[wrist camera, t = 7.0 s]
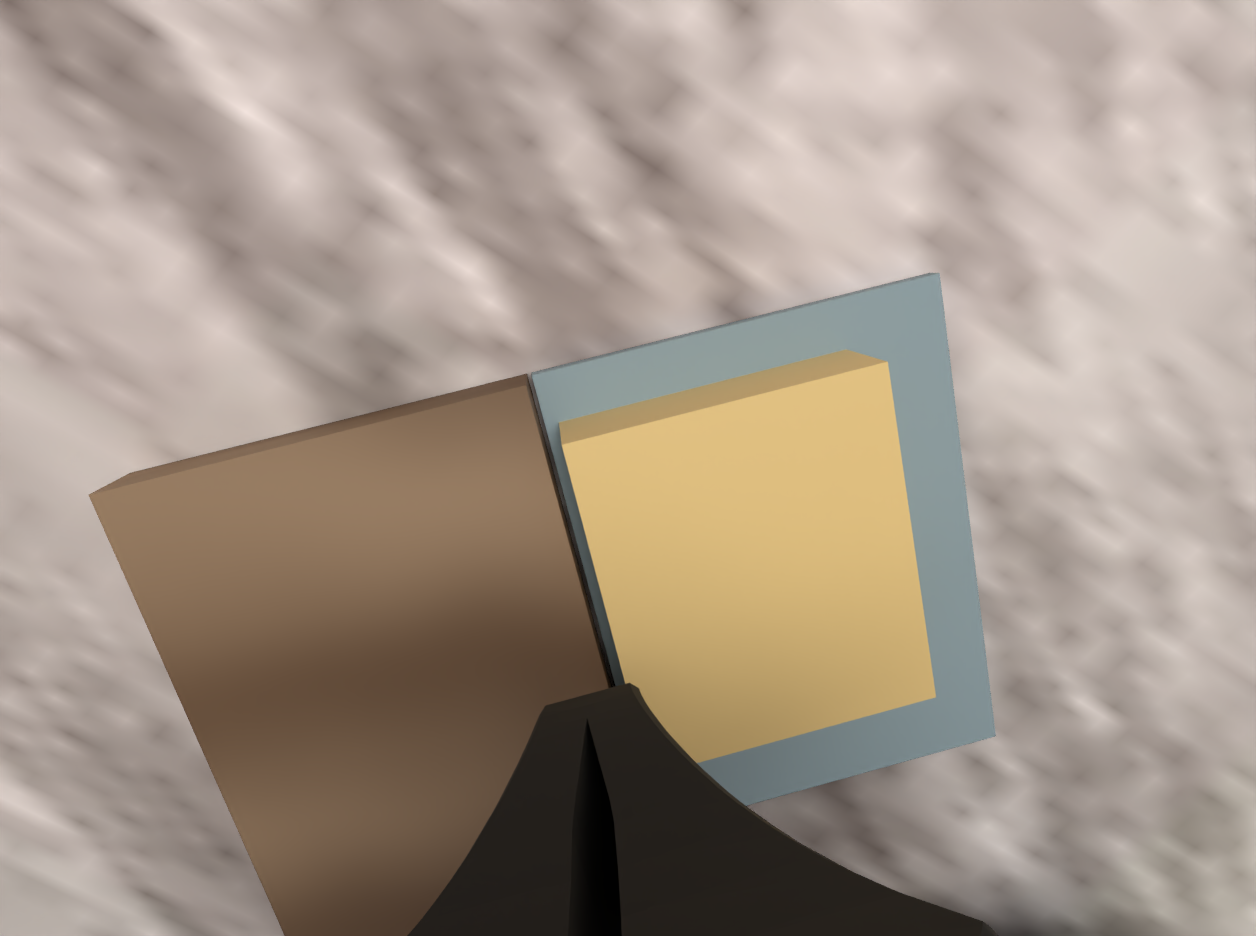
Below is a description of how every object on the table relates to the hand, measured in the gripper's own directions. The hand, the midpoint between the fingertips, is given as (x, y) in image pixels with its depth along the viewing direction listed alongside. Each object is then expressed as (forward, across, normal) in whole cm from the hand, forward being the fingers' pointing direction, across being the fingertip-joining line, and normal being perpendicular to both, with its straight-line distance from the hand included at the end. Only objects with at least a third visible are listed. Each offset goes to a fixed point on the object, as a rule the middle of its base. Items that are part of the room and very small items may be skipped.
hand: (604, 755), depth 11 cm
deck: (+6, +4, +1) cm, 8 cm away
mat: (+6, -4, +1) cm, 8 cm away
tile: (+6, -3, 0) cm, 7 cm away
